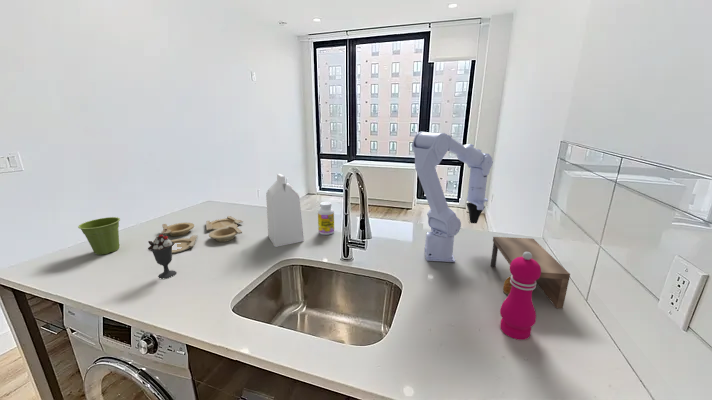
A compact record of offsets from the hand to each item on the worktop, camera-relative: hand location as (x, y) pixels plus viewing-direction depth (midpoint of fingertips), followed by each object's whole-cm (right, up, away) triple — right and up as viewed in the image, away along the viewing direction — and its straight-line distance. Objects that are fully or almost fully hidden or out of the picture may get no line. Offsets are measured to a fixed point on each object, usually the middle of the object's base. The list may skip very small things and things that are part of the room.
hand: (473, 222), depth 112 cm
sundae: (-103, -15, -16) cm, 105 cm away
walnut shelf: (+6, -16, -22) cm, 28 cm away
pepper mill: (-6, -22, -41) cm, 47 cm away
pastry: (+3, -18, -25) cm, 30 cm away
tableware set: (-107, -7, +15) cm, 108 cm away
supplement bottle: (-55, -5, +17) cm, 58 cm away
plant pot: (-135, -11, +1) cm, 136 cm away
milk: (-71, -7, +11) cm, 73 cm away
